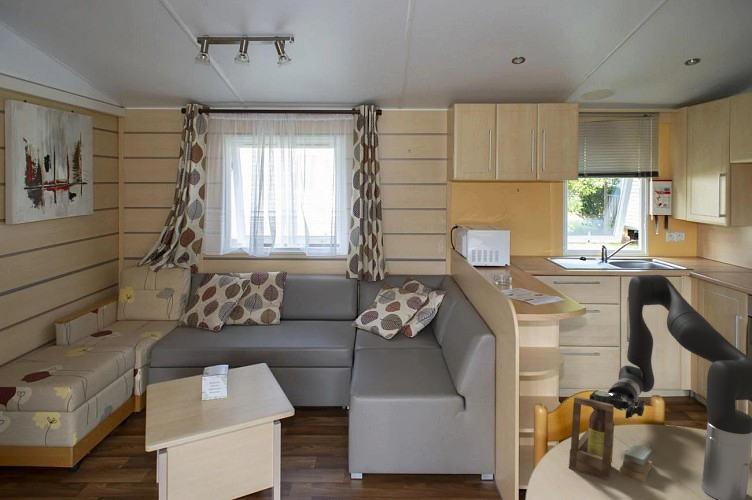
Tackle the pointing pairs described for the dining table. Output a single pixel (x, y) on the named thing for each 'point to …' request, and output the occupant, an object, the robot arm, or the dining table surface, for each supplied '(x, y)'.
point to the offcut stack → (636, 463)
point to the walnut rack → (579, 447)
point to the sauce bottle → (598, 427)
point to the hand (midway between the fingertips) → (610, 410)
